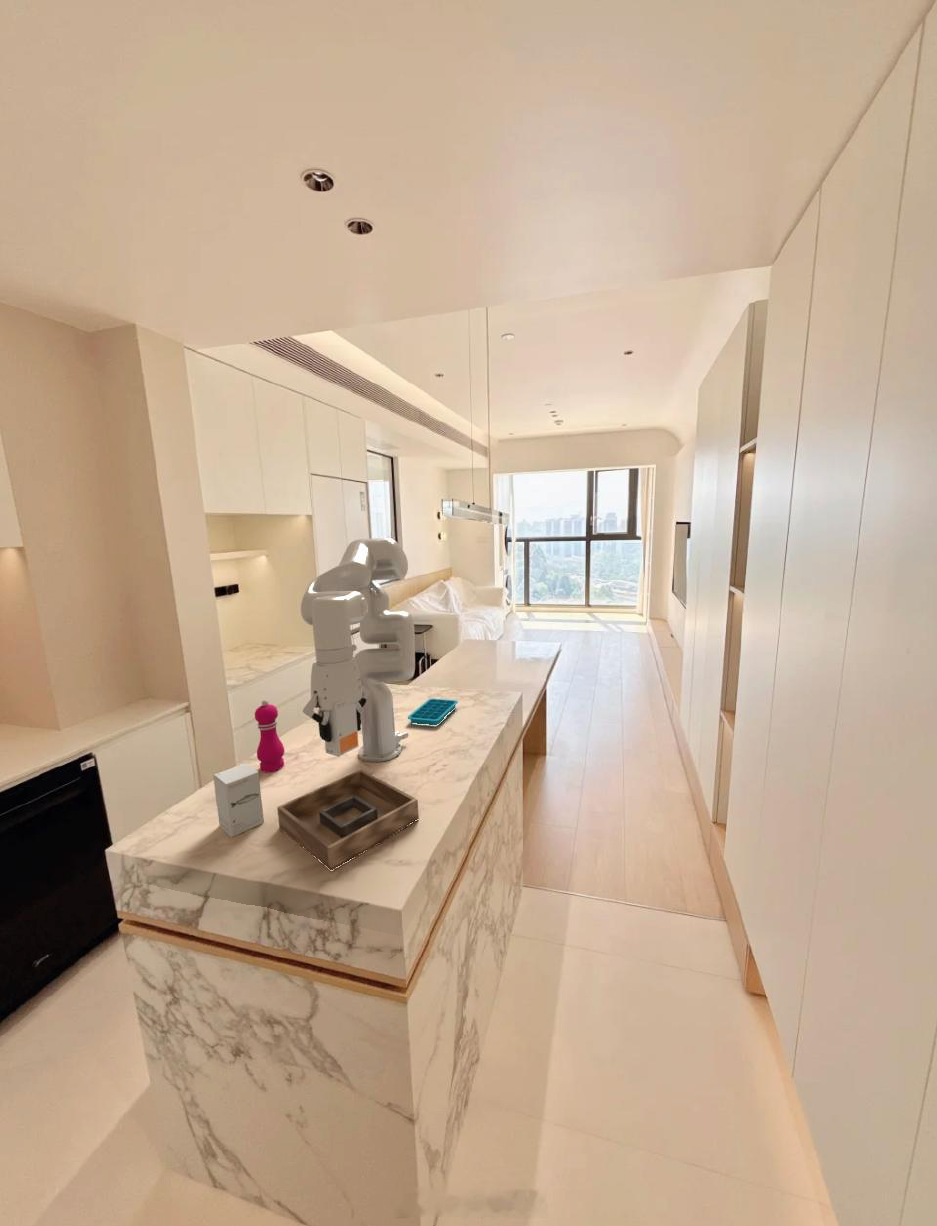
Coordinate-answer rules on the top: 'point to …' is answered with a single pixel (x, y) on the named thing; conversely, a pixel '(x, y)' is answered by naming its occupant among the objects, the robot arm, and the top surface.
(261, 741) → the pepper mill
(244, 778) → the supplement box
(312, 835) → the walled box
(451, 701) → the ice cube tray
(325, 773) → the top surface
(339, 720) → the skincare box
